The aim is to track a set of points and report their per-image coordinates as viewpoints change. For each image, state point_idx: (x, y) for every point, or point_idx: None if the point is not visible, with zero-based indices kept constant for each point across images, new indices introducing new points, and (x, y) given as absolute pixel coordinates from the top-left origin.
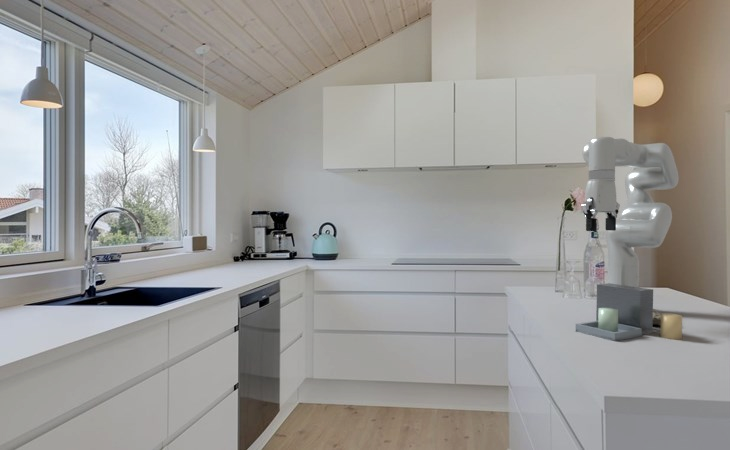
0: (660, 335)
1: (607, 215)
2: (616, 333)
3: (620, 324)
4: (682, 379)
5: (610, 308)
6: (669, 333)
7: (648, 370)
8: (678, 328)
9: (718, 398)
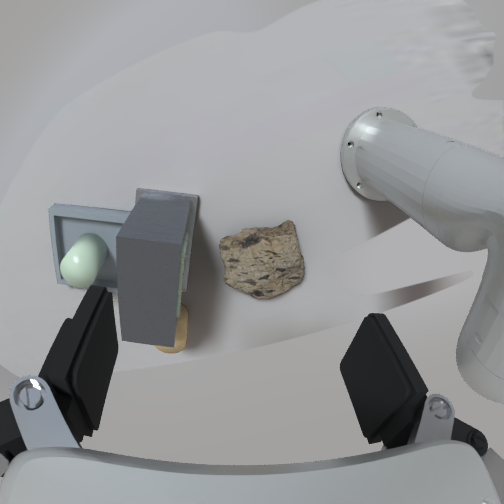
0: None
1: (412, 427)
2: (61, 283)
3: None
4: (24, 358)
5: (90, 269)
6: None
7: (14, 337)
8: None
9: (20, 377)
